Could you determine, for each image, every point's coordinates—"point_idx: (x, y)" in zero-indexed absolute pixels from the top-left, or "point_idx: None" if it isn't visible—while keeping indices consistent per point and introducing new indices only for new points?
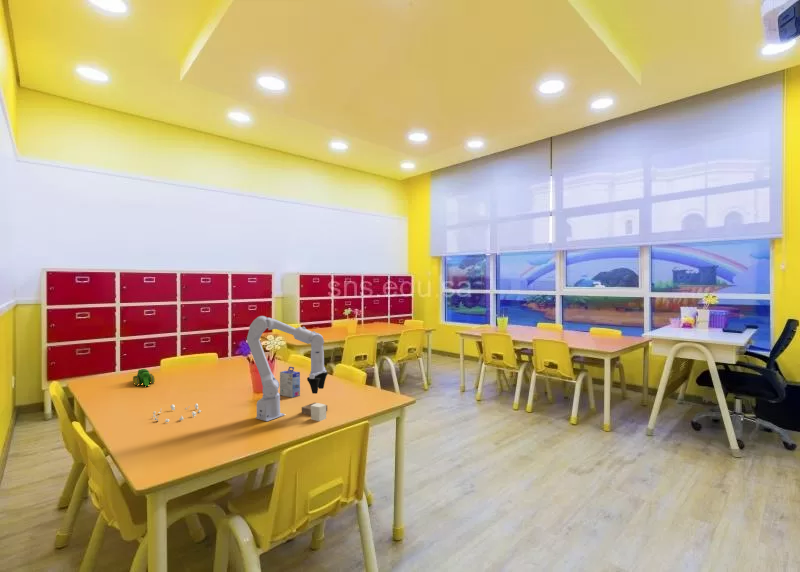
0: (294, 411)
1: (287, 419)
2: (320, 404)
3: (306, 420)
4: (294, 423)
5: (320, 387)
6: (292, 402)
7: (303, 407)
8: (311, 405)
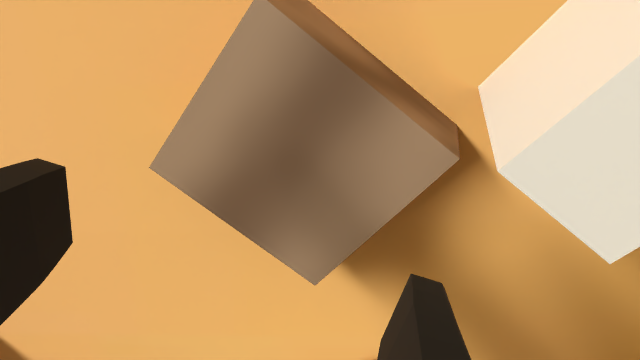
0: (278, 297)
1: (485, 341)
2: (628, 118)
3: None
4: (631, 295)
5: (51, 228)
6: (62, 309)
7: (326, 270)
8: (622, 255)
